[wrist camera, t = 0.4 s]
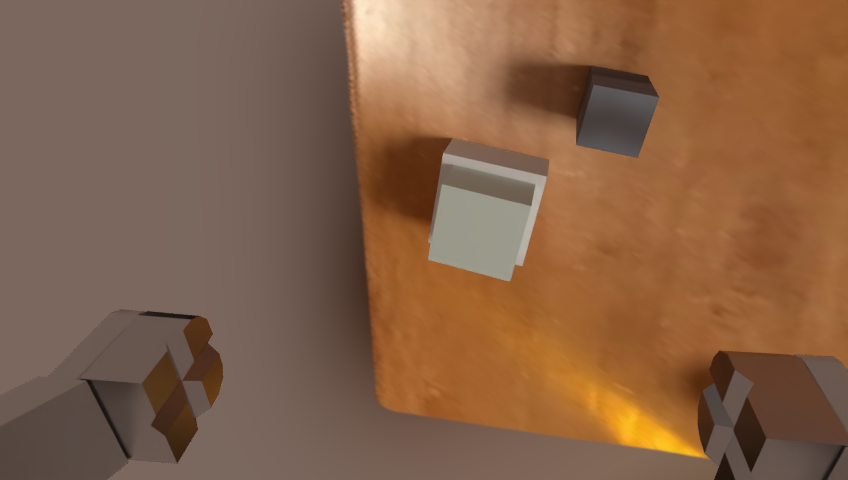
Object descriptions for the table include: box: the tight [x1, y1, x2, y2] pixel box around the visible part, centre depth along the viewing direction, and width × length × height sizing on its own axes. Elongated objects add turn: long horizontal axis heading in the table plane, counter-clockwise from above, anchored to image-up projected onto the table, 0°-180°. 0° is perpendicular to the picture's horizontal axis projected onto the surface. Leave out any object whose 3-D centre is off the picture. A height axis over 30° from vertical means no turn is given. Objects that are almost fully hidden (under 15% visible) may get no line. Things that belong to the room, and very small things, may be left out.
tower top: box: [428, 165, 536, 282], centre depth 52 cm, size 8×8×5 cm
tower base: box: [428, 139, 549, 266], centre depth 56 cm, size 10×10×5 cm
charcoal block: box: [576, 66, 659, 158], centre depth 47 cm, size 5×5×8 cm
